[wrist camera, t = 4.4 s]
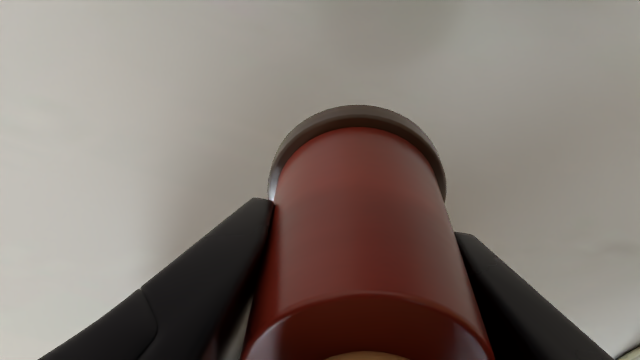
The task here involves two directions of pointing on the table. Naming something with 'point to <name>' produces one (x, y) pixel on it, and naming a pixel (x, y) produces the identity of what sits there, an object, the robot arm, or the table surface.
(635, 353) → the coffee can
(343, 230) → the figure
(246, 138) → the table surface
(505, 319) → the robot arm
